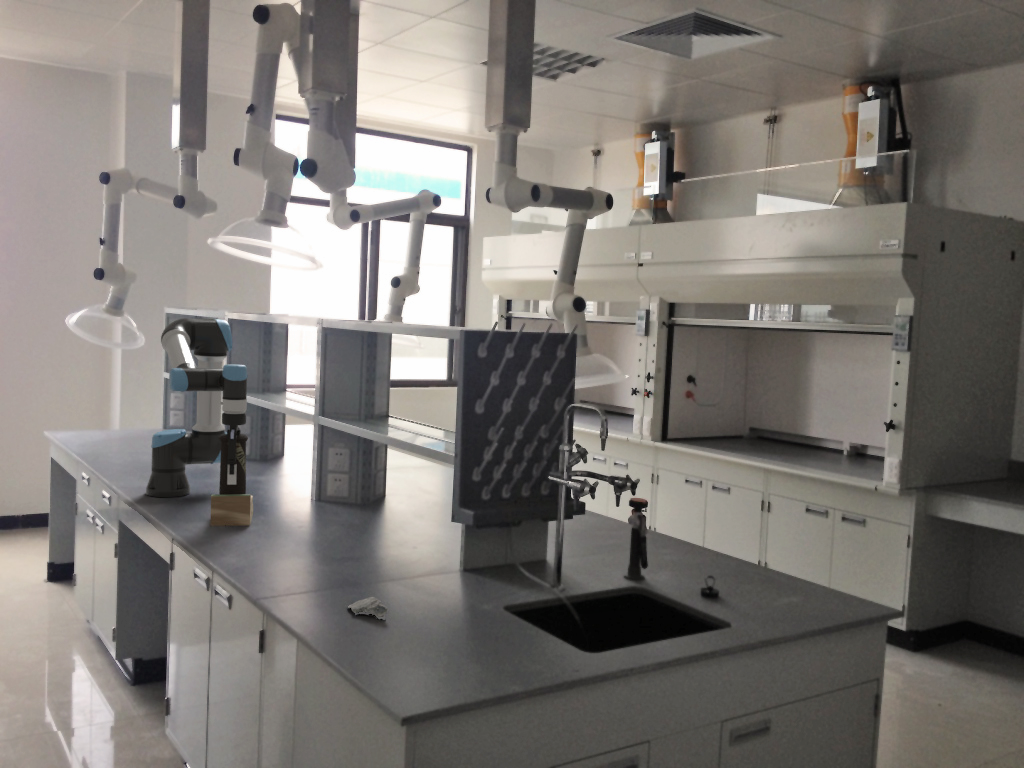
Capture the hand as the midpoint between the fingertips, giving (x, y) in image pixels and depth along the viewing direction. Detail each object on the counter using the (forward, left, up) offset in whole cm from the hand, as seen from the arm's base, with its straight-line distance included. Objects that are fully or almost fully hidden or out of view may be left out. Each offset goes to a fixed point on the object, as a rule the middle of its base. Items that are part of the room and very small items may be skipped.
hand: (232, 481), depth 291 cm
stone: (+95, +38, -13) cm, 103 cm away
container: (0, 0, -4) cm, 4 cm away
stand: (-1, 0, -13) cm, 13 cm away
